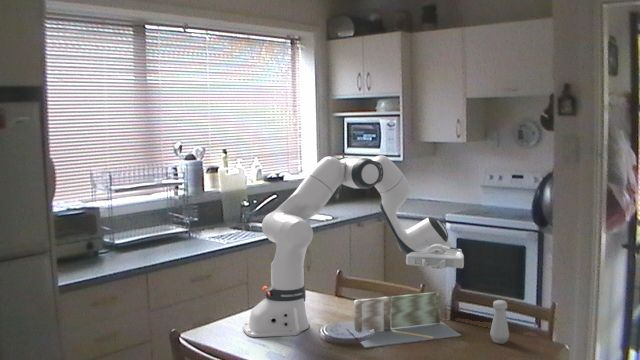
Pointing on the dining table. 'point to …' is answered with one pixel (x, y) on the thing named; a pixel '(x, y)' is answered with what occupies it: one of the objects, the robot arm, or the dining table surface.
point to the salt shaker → (499, 323)
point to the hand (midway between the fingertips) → (432, 264)
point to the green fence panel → (415, 309)
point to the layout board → (410, 334)
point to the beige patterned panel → (372, 314)
